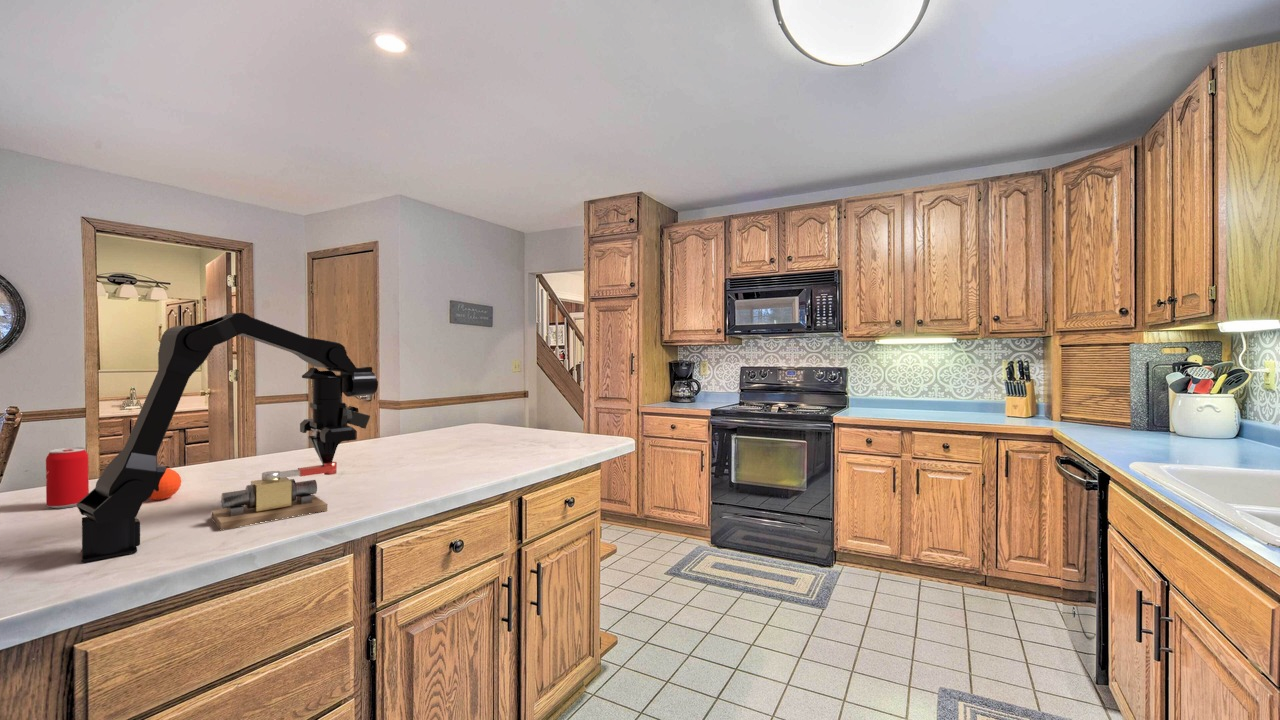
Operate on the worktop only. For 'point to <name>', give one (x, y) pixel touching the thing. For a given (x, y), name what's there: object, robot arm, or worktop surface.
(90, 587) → the worktop surface
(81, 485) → the beverage can
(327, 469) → the valve lever
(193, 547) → the worktop surface
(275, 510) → the mounting board
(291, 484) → the valve
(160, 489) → the clementine
